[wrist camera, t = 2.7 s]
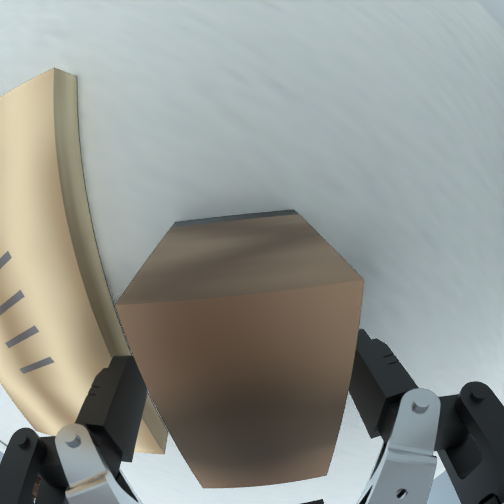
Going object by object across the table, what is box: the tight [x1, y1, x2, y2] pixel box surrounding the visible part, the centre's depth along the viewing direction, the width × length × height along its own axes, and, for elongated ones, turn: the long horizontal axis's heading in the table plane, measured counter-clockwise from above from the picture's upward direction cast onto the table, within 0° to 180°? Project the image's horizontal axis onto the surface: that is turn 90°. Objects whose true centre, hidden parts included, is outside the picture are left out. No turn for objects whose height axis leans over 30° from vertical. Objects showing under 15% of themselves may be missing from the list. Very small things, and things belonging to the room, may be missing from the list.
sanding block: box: [115, 210, 364, 488], centre depth 10 cm, size 5×9×7 cm, turn 5°
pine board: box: [0, 68, 168, 454], centre depth 12 cm, size 12×22×2 cm, turn 5°
